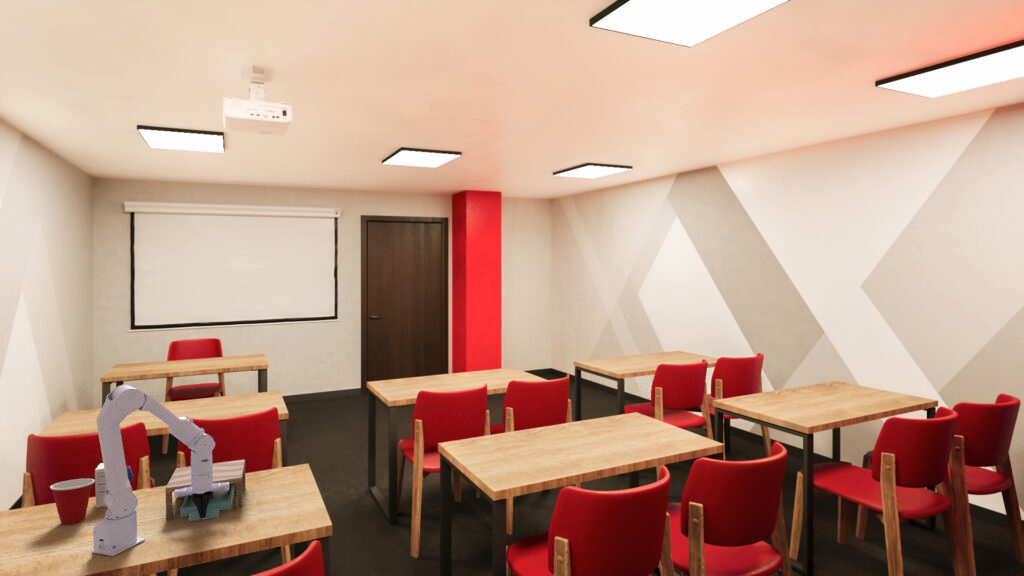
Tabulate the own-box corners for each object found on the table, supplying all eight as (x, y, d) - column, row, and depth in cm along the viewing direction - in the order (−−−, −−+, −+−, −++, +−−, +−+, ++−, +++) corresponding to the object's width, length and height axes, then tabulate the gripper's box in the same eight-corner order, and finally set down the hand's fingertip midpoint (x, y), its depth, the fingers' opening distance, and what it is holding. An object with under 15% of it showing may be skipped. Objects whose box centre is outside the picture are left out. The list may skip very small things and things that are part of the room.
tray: (229, 515, 173) (229, 496, 173) (177, 523, 167) (177, 503, 167) (234, 491, 192) (234, 474, 192) (188, 498, 187) (187, 480, 186)
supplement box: (100, 500, 186) (99, 462, 186) (127, 496, 189) (126, 459, 189) (95, 508, 179) (93, 469, 179) (122, 504, 182) (121, 466, 182)
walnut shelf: (242, 508, 177) (241, 477, 177) (166, 520, 169) (165, 488, 169) (245, 487, 195) (244, 459, 195) (177, 497, 187) (176, 468, 187)
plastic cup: (104, 513, 175) (103, 476, 174) (74, 529, 164) (73, 489, 164) (73, 512, 176) (72, 475, 176) (41, 528, 165) (40, 488, 165)
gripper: (172, 480, 162) (173, 526, 162) (227, 473, 168) (228, 517, 168) (176, 472, 168) (177, 517, 169) (229, 466, 174) (230, 508, 174)
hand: (203, 516), depth 169 cm, fingers closed
